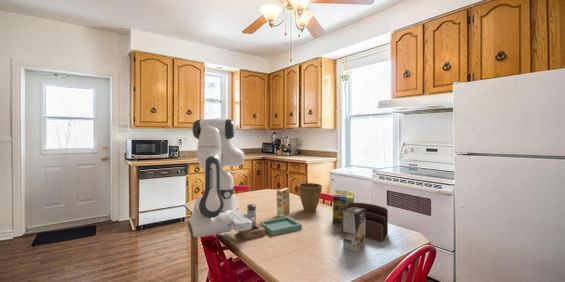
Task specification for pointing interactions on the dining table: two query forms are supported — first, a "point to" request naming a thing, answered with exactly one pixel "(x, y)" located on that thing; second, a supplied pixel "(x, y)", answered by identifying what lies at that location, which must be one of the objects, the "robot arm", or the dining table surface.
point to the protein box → (341, 205)
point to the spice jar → (251, 214)
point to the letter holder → (373, 221)
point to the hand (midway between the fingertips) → (253, 217)
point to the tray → (280, 225)
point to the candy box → (283, 202)
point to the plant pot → (310, 195)
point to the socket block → (253, 232)
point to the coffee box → (354, 228)
